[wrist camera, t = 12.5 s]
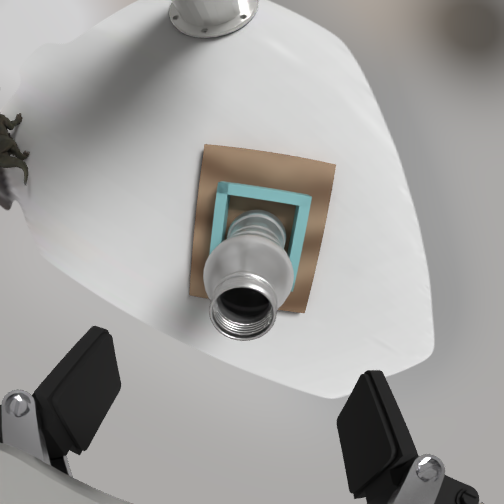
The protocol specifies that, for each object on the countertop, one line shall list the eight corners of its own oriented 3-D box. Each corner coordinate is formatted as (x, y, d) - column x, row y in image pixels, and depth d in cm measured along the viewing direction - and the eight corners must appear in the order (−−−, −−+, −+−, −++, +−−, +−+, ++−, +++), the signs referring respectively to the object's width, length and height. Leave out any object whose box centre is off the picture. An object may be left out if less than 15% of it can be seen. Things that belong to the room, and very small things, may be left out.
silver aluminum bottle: (289, 252, 34) (311, 350, 15) (236, 262, 35) (202, 365, 16) (279, 201, 32) (295, 245, 13) (224, 213, 33) (167, 270, 14)
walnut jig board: (207, 145, 32) (198, 141, 28) (333, 164, 32) (342, 164, 28) (192, 290, 38) (183, 305, 34) (303, 308, 38) (307, 324, 34)
